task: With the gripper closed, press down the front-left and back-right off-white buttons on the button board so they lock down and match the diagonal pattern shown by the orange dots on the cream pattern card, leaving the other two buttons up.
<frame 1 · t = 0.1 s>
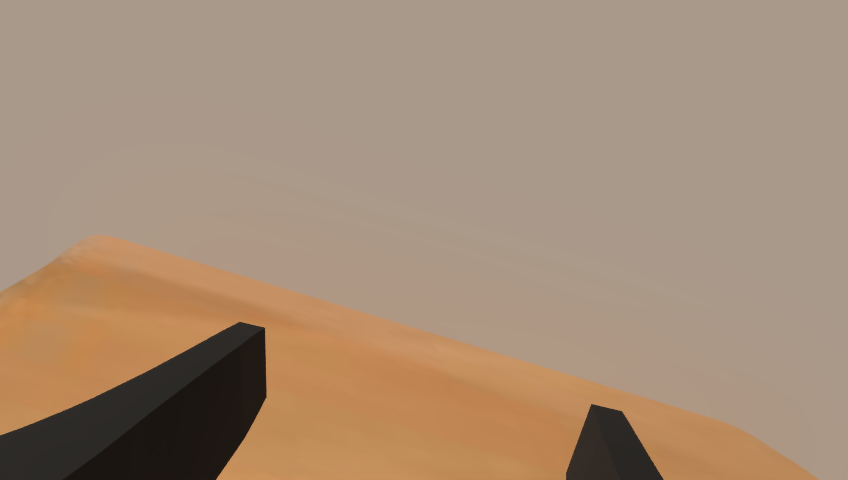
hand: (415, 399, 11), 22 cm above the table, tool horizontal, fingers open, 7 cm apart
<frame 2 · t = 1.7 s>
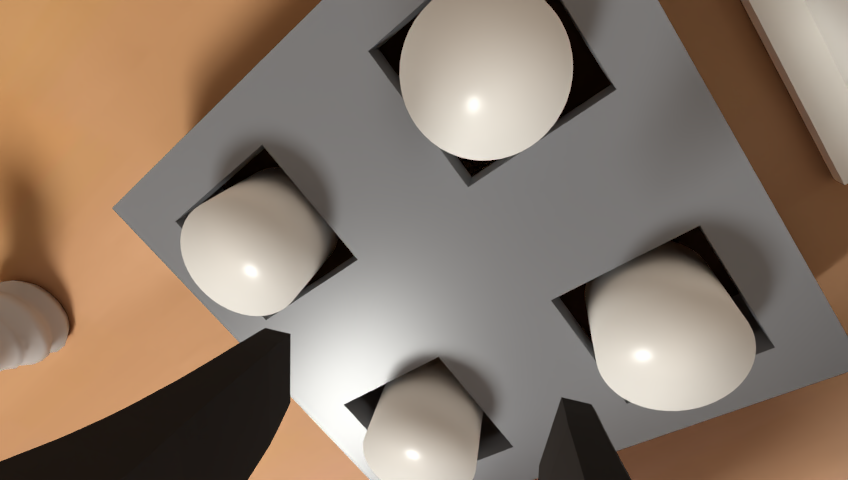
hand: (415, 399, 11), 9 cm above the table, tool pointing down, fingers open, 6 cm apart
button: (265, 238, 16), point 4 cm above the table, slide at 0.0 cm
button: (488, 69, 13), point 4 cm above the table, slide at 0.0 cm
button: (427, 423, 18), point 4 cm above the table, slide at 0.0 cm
pattern card: (819, 12, 14), on the table
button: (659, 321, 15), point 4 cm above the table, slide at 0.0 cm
rook chess piece: (40, 310, 26), on the table
button board: (466, 229, 19), on the table
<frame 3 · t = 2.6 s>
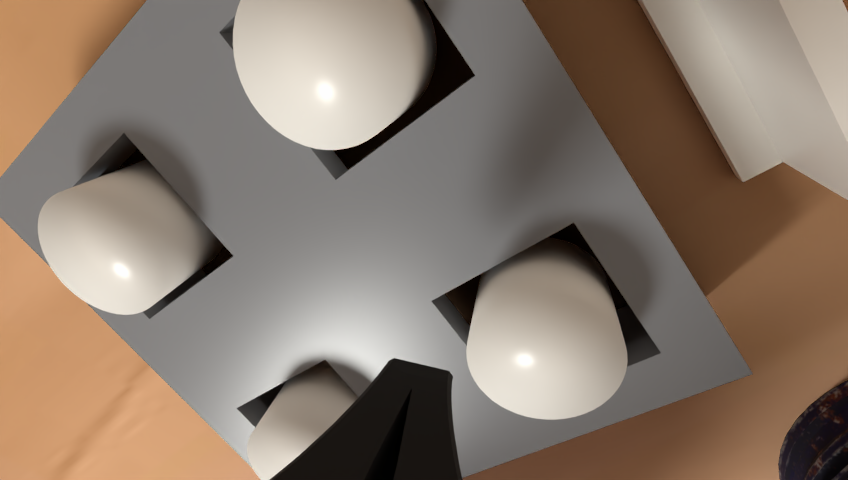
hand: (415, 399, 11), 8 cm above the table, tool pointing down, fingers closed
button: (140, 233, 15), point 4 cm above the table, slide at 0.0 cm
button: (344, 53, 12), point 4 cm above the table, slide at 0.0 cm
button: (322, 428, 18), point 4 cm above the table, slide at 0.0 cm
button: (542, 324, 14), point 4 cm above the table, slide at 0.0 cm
button board: (369, 226, 18), on the table
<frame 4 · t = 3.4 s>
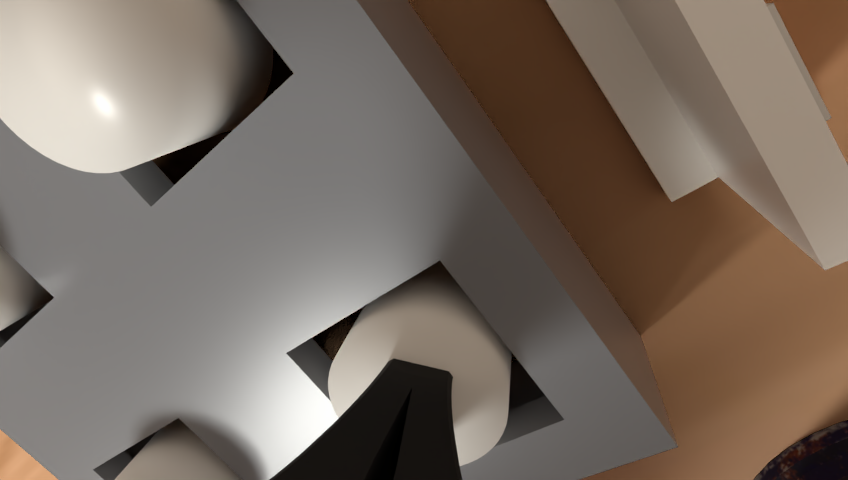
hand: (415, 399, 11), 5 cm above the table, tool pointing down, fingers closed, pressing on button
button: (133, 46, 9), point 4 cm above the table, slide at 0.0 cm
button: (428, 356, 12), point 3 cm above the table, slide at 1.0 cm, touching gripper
button board: (250, 253, 16), on the table
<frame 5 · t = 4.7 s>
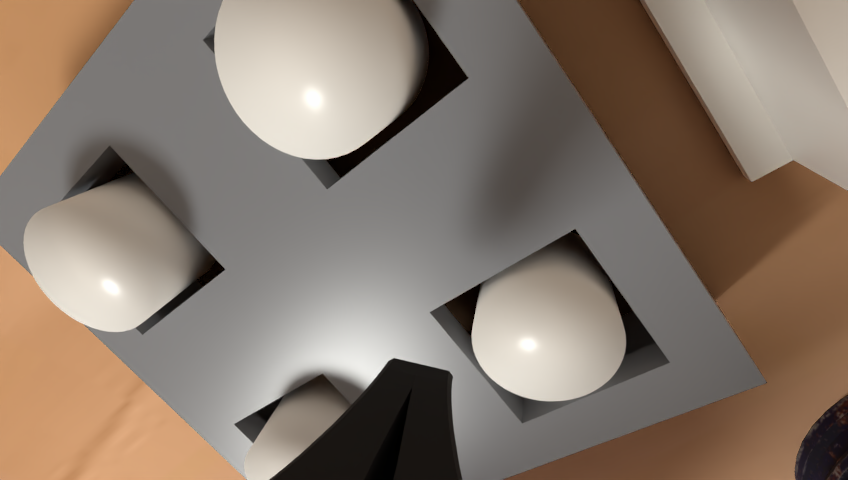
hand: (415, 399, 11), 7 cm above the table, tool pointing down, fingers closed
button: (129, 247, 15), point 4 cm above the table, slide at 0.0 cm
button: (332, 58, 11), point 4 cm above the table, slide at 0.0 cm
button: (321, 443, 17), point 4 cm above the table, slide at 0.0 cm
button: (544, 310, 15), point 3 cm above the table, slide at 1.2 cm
button board: (366, 234, 18), on the table
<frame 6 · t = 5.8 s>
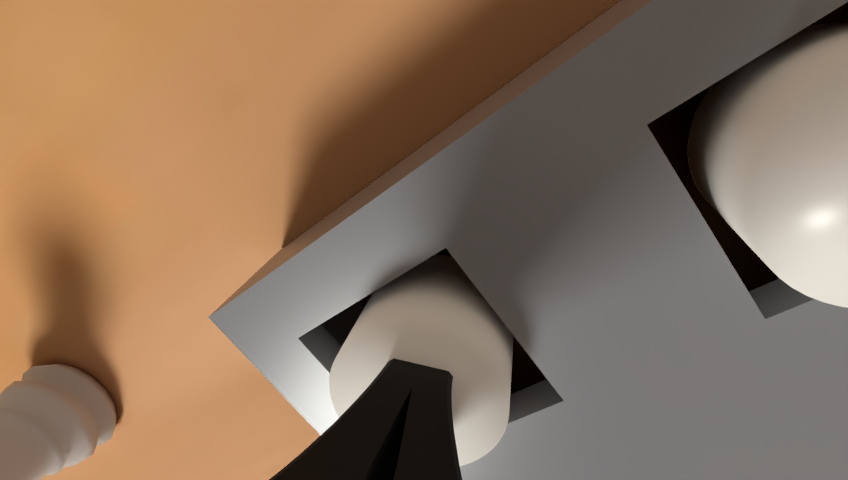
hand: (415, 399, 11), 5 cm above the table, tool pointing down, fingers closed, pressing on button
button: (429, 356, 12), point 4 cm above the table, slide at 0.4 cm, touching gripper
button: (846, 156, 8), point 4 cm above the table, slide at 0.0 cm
rook chess piece: (80, 395, 22), on the table
button board: (662, 330, 14), on the table
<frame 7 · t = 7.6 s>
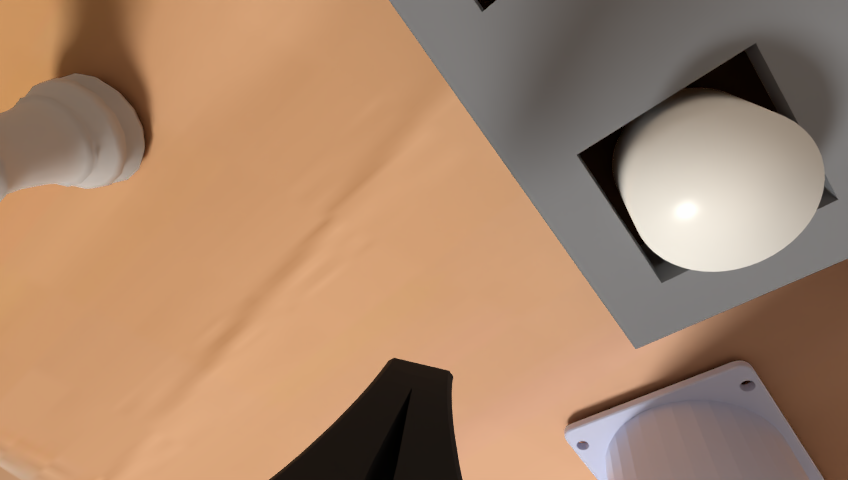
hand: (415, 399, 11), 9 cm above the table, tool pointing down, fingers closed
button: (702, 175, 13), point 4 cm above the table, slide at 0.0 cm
rook chess piece: (107, 127, 21), on the table
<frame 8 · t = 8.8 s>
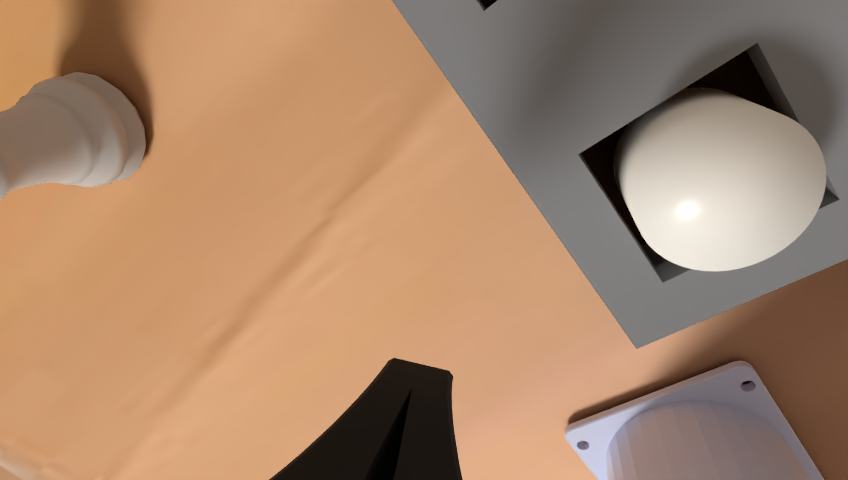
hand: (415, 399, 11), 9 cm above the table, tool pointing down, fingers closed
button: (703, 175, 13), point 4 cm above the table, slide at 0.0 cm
rook chess piece: (108, 125, 21), on the table
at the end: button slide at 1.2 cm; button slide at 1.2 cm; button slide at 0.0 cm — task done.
